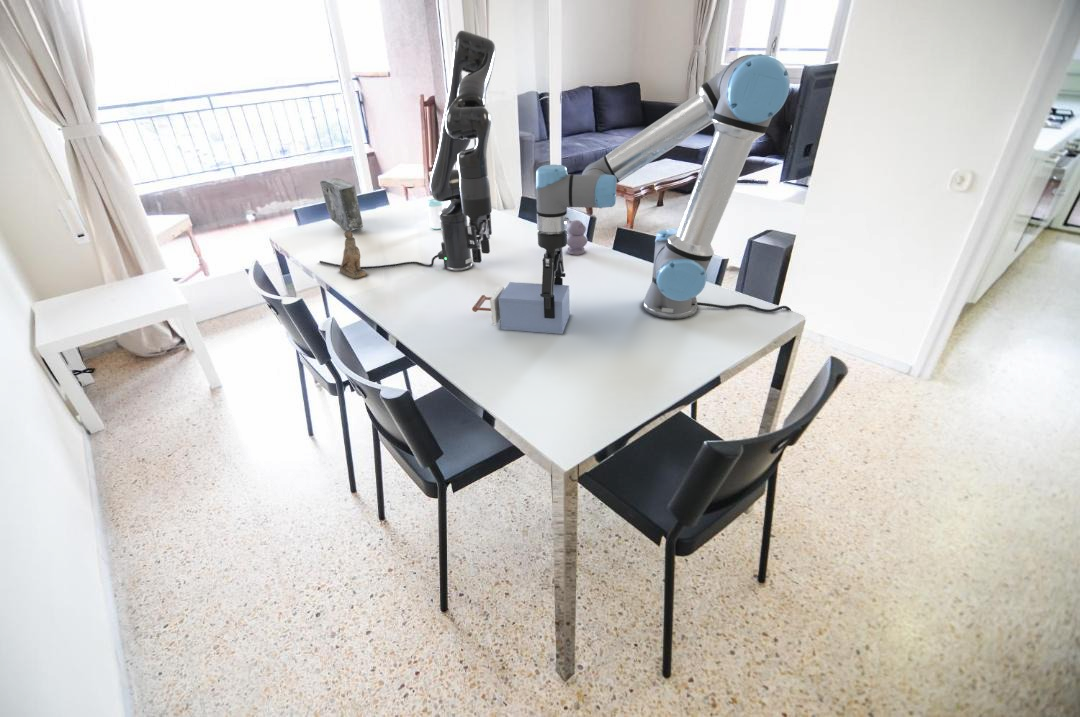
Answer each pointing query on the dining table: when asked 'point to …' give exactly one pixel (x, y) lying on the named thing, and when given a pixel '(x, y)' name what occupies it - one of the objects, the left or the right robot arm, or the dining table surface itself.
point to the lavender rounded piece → (576, 237)
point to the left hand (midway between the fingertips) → (481, 257)
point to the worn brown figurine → (351, 258)
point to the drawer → (494, 305)
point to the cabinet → (532, 308)
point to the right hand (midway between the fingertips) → (553, 308)
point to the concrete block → (342, 203)
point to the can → (435, 213)
